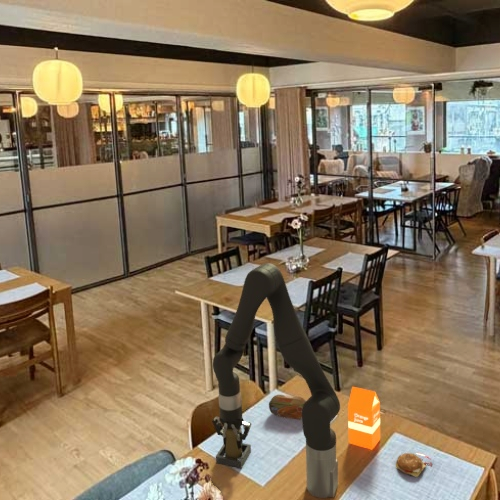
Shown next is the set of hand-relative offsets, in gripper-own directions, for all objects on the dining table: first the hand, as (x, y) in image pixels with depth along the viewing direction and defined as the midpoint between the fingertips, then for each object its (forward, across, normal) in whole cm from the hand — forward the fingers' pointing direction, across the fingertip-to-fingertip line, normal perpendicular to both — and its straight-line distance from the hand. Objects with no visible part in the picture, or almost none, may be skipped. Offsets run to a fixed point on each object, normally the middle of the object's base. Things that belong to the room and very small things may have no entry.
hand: (233, 446), depth 186 cm
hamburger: (+6, +59, +14) cm, 61 cm away
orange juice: (+5, +41, +22) cm, 47 cm away
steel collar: (+5, 0, 0) cm, 5 cm away
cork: (+3, 0, 0) cm, 3 cm away
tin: (+5, +11, +29) cm, 31 cm away
